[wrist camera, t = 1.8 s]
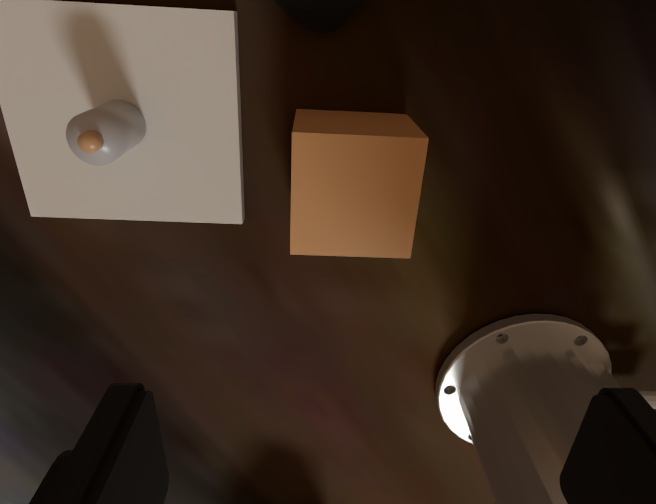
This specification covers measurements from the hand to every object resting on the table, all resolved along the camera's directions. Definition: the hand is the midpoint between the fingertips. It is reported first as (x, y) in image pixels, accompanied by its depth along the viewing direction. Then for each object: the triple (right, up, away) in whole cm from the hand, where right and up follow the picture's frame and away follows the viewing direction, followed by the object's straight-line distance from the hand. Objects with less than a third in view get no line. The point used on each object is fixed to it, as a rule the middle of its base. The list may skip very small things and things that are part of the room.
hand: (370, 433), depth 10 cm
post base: (-12, +11, +15) cm, 22 cm away
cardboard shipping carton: (0, +9, +16) cm, 18 cm away
